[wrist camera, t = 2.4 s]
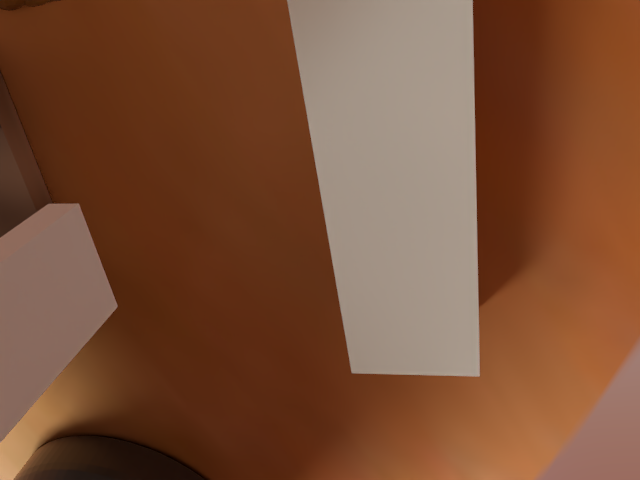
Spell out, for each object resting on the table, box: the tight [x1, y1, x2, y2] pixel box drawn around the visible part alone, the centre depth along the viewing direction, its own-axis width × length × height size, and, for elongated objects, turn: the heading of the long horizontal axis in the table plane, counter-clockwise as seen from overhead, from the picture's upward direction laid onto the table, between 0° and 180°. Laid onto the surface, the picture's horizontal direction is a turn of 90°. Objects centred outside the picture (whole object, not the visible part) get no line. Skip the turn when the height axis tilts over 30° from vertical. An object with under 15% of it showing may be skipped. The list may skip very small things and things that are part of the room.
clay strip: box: [287, 0, 480, 377], centre depth 17 cm, size 16×4×4 cm, turn 9°
